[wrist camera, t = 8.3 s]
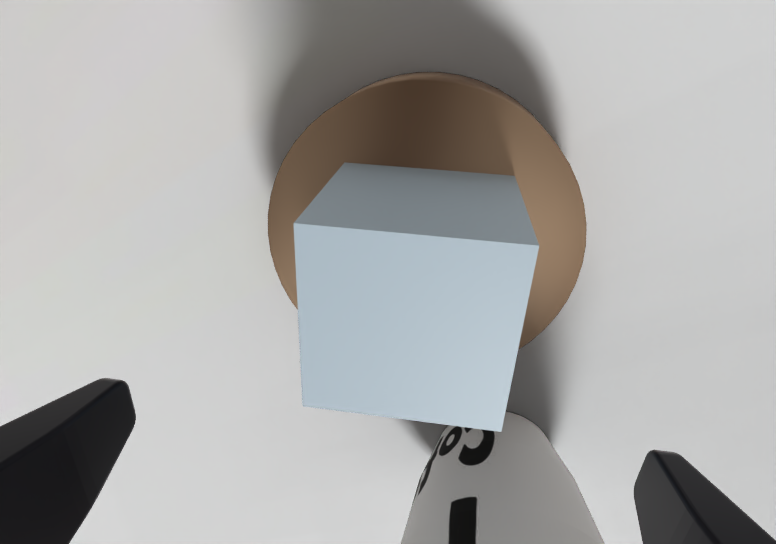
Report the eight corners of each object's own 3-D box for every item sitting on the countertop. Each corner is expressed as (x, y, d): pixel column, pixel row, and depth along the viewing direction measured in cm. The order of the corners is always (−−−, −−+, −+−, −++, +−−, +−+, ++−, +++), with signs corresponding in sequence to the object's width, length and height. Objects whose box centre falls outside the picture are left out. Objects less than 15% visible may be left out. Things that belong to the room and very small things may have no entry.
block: (514, 175, 14) (539, 245, 10) (490, 321, 16) (501, 431, 12) (344, 162, 15) (293, 223, 10) (344, 305, 17) (302, 406, 12)
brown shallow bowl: (602, 82, 15) (626, 92, 13) (539, 348, 19) (549, 390, 17) (285, 62, 16) (256, 68, 14) (296, 320, 20) (276, 356, 18)
